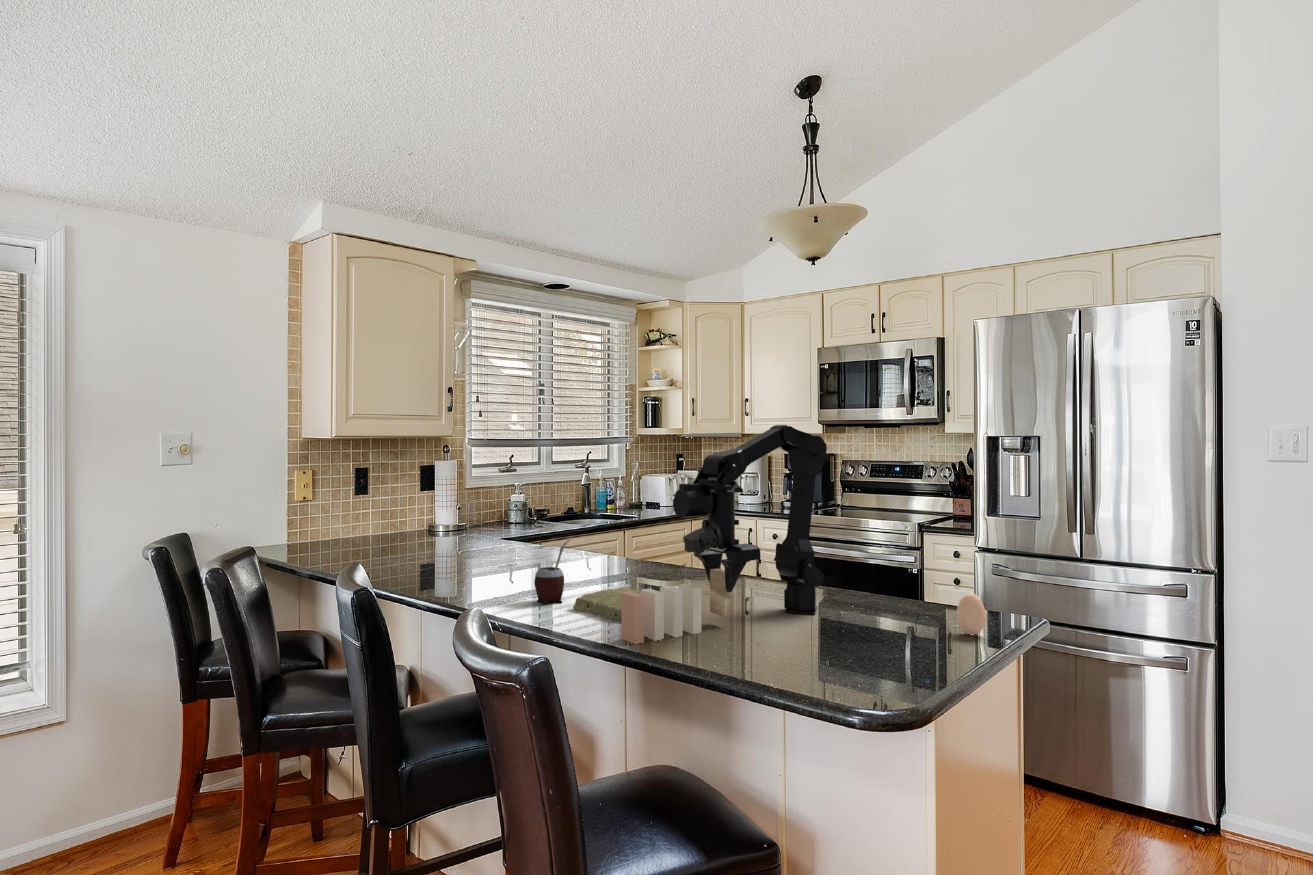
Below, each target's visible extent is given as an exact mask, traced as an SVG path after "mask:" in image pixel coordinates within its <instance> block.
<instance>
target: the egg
mask: <svg viewBox="0 0 1313 875" xmlns="http://www.w3.org/2000/svg"><path fill="white" fill-rule="evenodd" d="M986 618H987V614H986V609H985V606H984V603H983V601H982V599H981V598H980V597H979V596H978V595H977V594H975V593H971V592H969V593H966V594H965V595H964V596H962V598H961V599H960V600H959V602H958V605H957V608H956V621H957V624H958V626H959V628H960V629H961V631H963V633H964V634H966V633H969V634H977V635H978V634H980V633H981V631H983V629H984V627H985V625H986V621H987V620H986Z"/></svg>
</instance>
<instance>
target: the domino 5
mask: <svg viewBox="0 0 1313 875" xmlns="http://www.w3.org/2000/svg"><path fill="white" fill-rule="evenodd" d="M709 612H710V613H712V614H714V615H718V616H720V617H723V618H728V617H733V591H732V592H727V590H726V581H725V569H721V568H720V569H718V568H717V569H710V583H709Z"/></svg>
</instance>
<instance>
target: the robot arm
mask: <svg viewBox="0 0 1313 875" xmlns="http://www.w3.org/2000/svg"><path fill="white" fill-rule="evenodd" d="M778 448H780V449H781V450H782V451H784V452H786V453H788V454H787V455H788V458H787V459H788V460H787V461H788V463H789V466H790V468H791V471H792V473H793V474H792V475H793V477H792V484H791V492H790V502H789V503H790V504H789V512H788V522H787V530H786V537H785V538H784V540H783V541H782V543H780V542H777V543H776V544H775V545H776V546H775V556H774V558H773V561H774V562H775V569H776V570H777V572H778V574H779V577H780V578H779V579H780V581H781V582H785V583H786V587H785V588H784V590H783V591H784V593H783V594H784V595H783V597H784V599H783V601H784V602H783V603H784V604H783V606H784V609H785V613H790V614H806V615H815V614H816V613H817V610H818V606H817V588H818V587H819V586H823V583H824V579H825V575H824V574H823V573H822V571H821V570H820V568H818V567H817V565H816V563H815V562H816V561H815V559H816V558H815V550H814V548H813V546H812V543H811V540H810V535H811V534H810V533H811V524H812V523H811V522H812V516H813V515H812V514H813V503H814V495H815V485H816V477H817V475H818V473H819V472H820V470H821V469H822V467H823V466H824V465H825V460H826V455H827V451H828V447H827V443H826V442H825V440H824V438H823V437H822V436H820V435H813V434H811V433H809V432H805V431H801V430H799V429H796V428H795V427H794V426H791V425H790V424H789V425H788V424H776V425H773V426H771V427H769V429H767V430H765V431H764V432H762V433H759V434H758V435H756V436H755V437H753V438H752V439H749V440H747V441H746V442H744V443H742V444H740V445H739V446H737V447H735V448H731V449H728V450H727V449H726V450H722V451H719V452H715V453H712V454H709V455H707V456H705V457H704V459H703V463H702V466H701V468H700V470H699V472H698V473H697V475H696V477H695V478H694V480H693V482H692V483H679V484H678V490H677V491H676V492H675V494H674V498H673V499H672V506H673V507H672V508H673V510H674V513H675V515H677V517H679V518H681V519H683V518H694V517H696V518H697V517H705V516H706V519H705V518H704V519H702V521H701V527H699V528H698V529H695V530H694V531H691V532H690V533H688V534H685V535H684V536H683V537H682V539H683V544H684V551H686V552H687V553H693V556H694V557H696V558H697V559H699V561H701V563H702V565H703V567H704V571H705V574H706V576H707V579H708V582H709V584H710V569H717V568H718V569H721V565H722V566H723V568H724V570H725V581H726V590H727V592H732V593H733V590H734V589H735V588H734V587H735V586H736V584H737V582H738V581H739V577H740V575H741V573H742V572H743V570H744V568H745V567H746V565H747V563H749V562H750V561H758V560H759V561H760V560H761V549H760V547H759V546H758V545H755V544H750V543H740V539H738V538H735V537H736V529H735V528H736V526H738V525H740V520H739V519H736V518H735V517H736V516H735V515H736V512H735V504H736V503H735V502H736V500H735V498H736V497H735V496H736V493H738V494H739V493H743V492H744V489H743V488H742V487H741V486H740V485H739V484H738V483H737V481H736V480H738V479H739V478H740V477H742V475H743V474H744V473H745V471H746V470H747V467H748V466H750V465H751V464H753V463H754V462H756V461H758V460H759V459H761V458H763V457H764V456H766V455H768V454H770V453H772V452H773V451H775V450H777V449H778ZM723 554H724V555H725V556H726V558H724V559H723V556H724V555H723Z"/></svg>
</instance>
